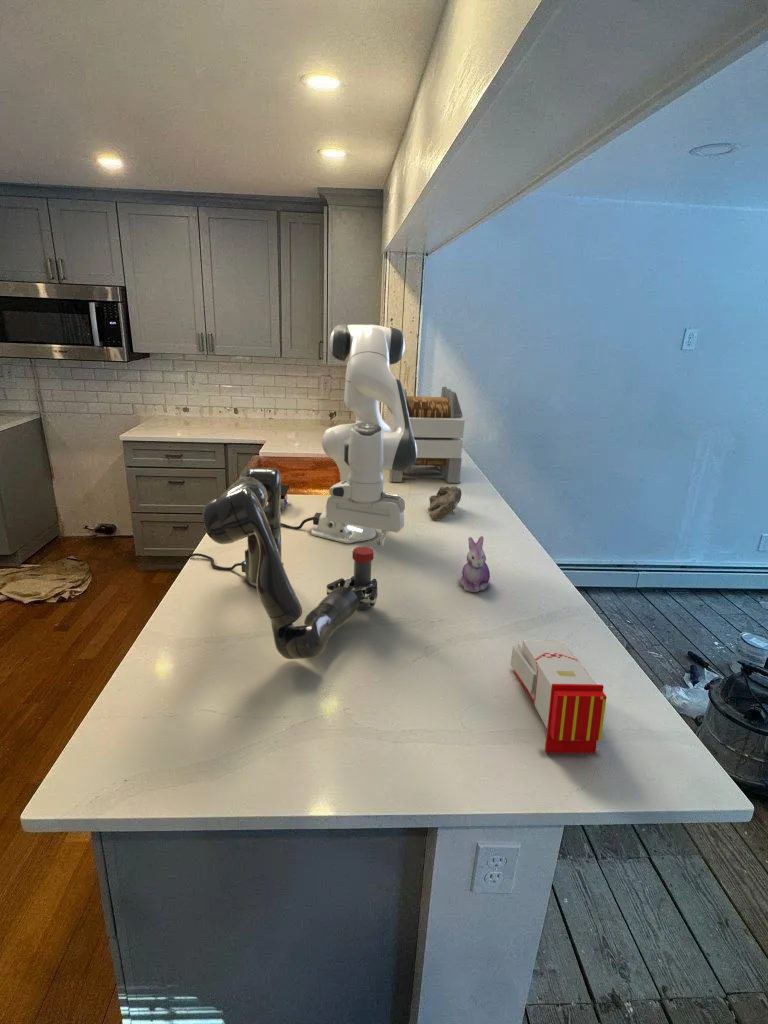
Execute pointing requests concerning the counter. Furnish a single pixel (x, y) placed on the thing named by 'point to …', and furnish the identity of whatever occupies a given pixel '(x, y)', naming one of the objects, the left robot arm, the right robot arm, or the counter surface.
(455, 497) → the fossil
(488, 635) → the counter surface
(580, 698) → the toy
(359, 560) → the lid
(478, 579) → the figurine
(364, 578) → the cylinder
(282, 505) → the figurine character
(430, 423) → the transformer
